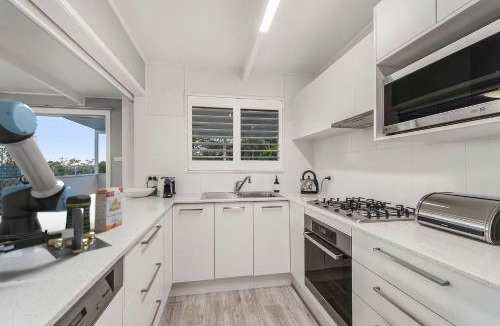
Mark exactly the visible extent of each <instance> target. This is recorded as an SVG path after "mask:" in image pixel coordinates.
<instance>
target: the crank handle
mask: <svg viewBox="0 0 500 326" xmlns="http://www.w3.org/2000/svg"><path fill="white" fill-rule="evenodd" d="M83 219H84V208H75V209H72V228H73V229H74V237H71V238H70V240H69V239H67V240H68V241H66V246H68V247H72V250H73V254H74V253H80V252H81V250H82V248H83V245H85V244H87V243H88V242H89V238H87V237H83ZM80 254H81V253H80Z"/></svg>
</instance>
